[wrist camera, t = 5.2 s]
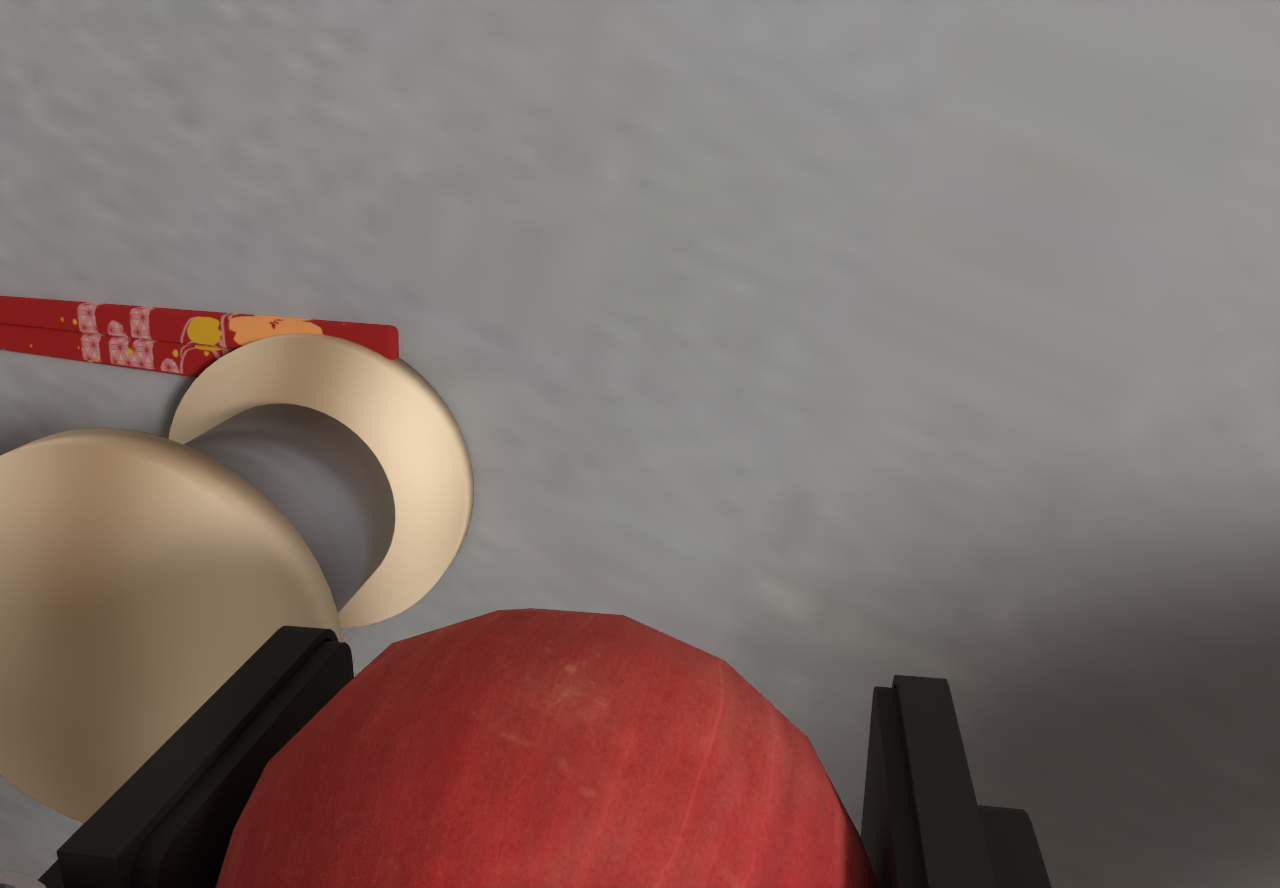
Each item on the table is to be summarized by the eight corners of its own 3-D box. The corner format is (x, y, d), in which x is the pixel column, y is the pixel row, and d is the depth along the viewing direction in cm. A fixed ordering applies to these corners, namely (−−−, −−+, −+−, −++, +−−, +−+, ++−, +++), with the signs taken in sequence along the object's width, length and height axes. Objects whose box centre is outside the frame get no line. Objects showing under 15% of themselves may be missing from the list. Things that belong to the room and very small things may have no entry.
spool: (463, 330, 26) (292, 451, 17) (483, 617, 29) (343, 853, 20) (165, 327, 27) (-141, 438, 18) (210, 603, 30) (-40, 821, 21)
